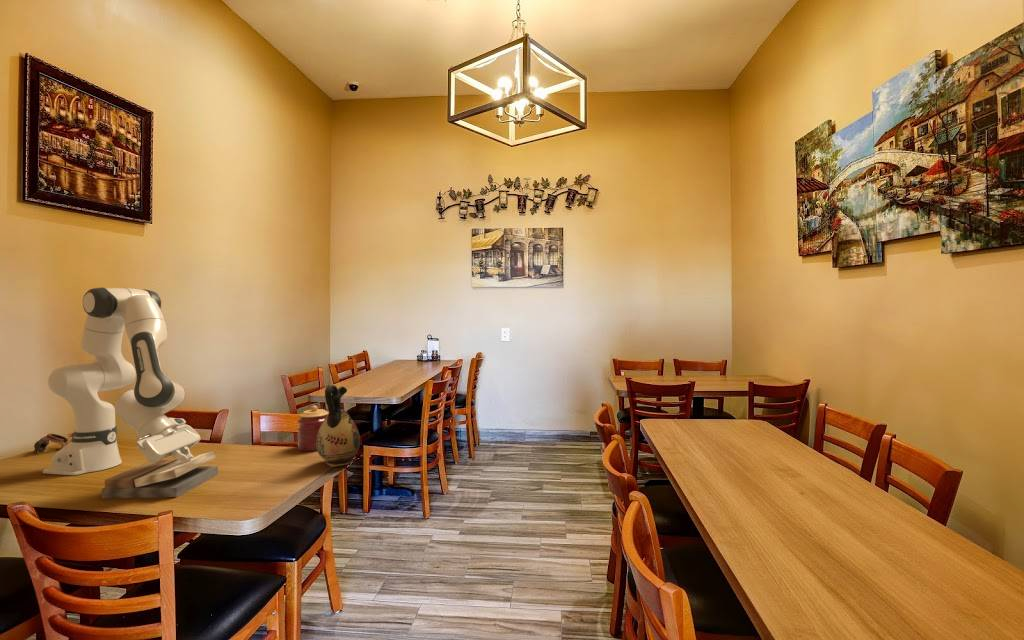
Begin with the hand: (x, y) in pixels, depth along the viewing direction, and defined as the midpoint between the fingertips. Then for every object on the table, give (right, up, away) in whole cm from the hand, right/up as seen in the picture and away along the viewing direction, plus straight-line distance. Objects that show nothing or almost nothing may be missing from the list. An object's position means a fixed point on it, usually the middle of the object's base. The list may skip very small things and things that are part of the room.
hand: (189, 460), depth 152 cm
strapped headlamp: (-87, -9, +40) cm, 97 cm away
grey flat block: (-9, -9, 0) cm, 12 cm away
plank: (-4, -4, 0) cm, 5 cm away
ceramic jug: (+41, -8, +20) cm, 47 cm away
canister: (+23, -8, +42) cm, 49 cm away
